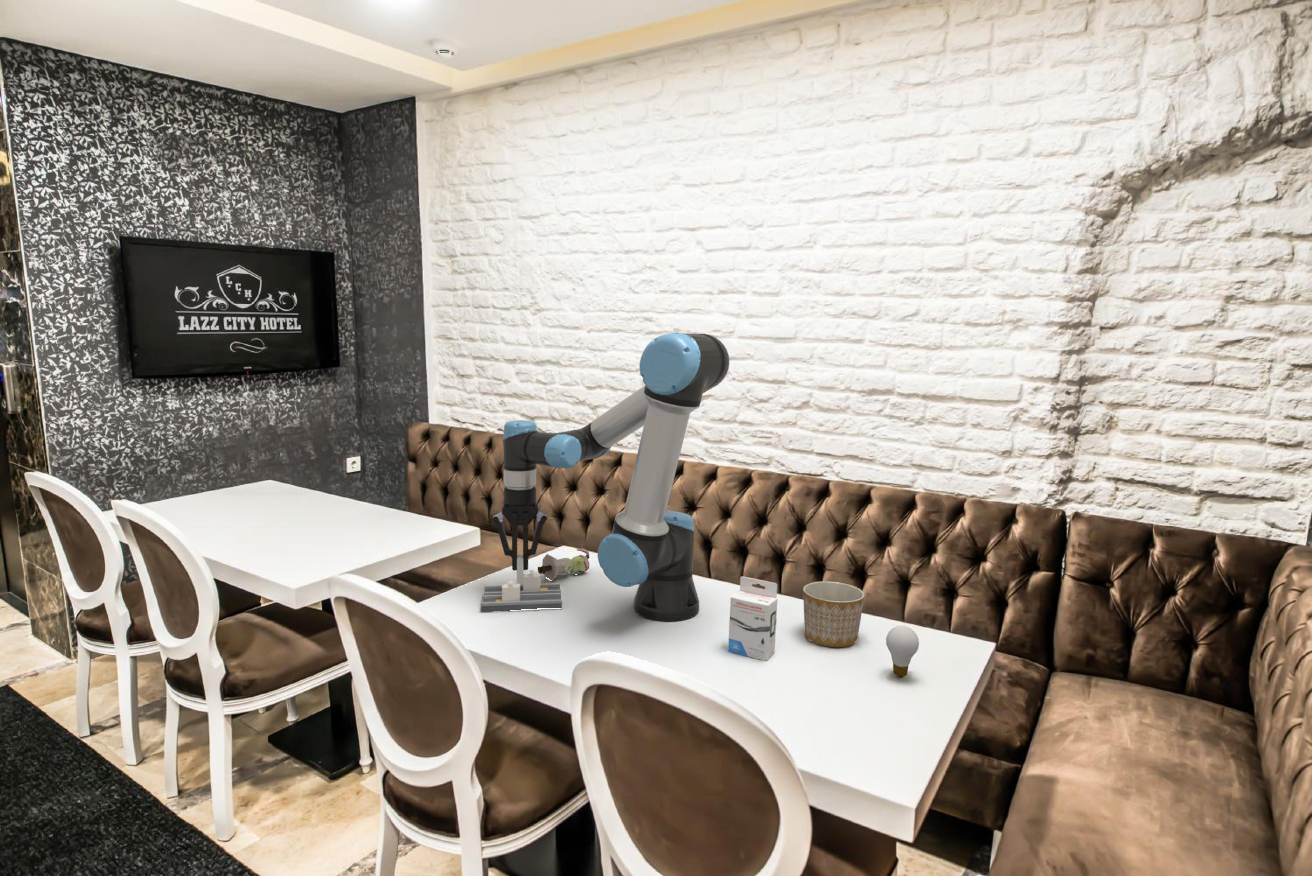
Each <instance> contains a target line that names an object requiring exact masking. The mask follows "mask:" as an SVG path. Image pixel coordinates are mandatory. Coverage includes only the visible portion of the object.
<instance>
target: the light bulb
mask: <svg viewBox="0 0 1312 876" xmlns="http://www.w3.org/2000/svg"><path fill="white" fill-rule="evenodd" d="M885 643H886V644H885V645H886V647H887V649H888V651H889V654H890V657H891V660H892V674H894V675H895V676H896V677H897V678H900V679H902V678H905V676H907V675H908V672H909V665H910V663H911V660H912V658H913V657H914V655H915V654H916V653H917V652H918V650H919V647H920V640H919V637H918V635H917V633H916V632H915V630H914V629H912V628H911V627H909V626H906V625H897V626H893V628H891V629H890V630H889V631H888V632H887V635H886V637H885Z"/></svg>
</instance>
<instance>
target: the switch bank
mask: <svg viewBox="0 0 1312 876" xmlns="http://www.w3.org/2000/svg"><path fill="white" fill-rule="evenodd" d="M561 590H562V589H561V583H560V582H559V583H540V590H535V591H523V585H520V601H505V602H502V584H501V585H500V584H499V585H484V591H483V593H482V594H483V595H482V602H481V613H494V612H493V611H508V612H511V611H510V610H521V609H537V608H562V609H563V600H562V591H561Z"/></svg>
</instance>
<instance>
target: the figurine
mask: <svg viewBox="0 0 1312 876" xmlns="http://www.w3.org/2000/svg"><path fill="white" fill-rule="evenodd" d="M576 551H579V552H582V553H584V554H585V555H583V554H579V555H576V556H573V557H572V558H571V559H570V558H569V557H563V558H559V559H557V558H555V557H554V556H552V555H550V554H549V553H546V554H545V556H544V557H543V558H542V566H538V567H537V573H540V576H541V575H543V576H544V578H545V577H547V578H549V579H550V580H552V581H554V580H555V579H556V578H557V576H558V575H567V574H568V573H570V574H574V573H575V574H578V573H580V574H583V573H585V572H587V571H589V570H590V560H589V559H590V552H589V550H587V549H585V548H577V549H576ZM575 574H574V575H575ZM578 575H579V574H578Z"/></svg>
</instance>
